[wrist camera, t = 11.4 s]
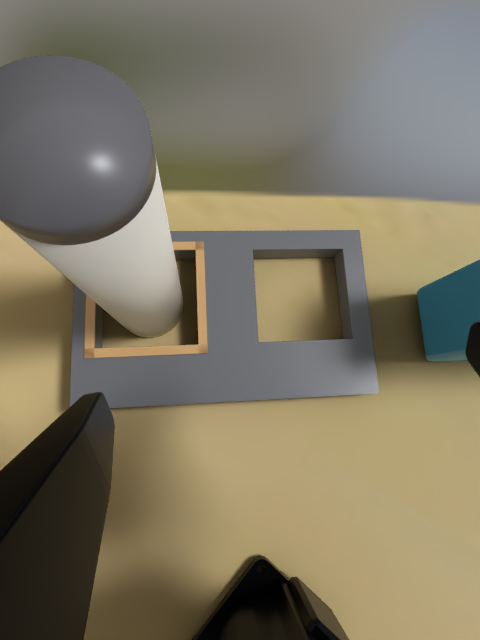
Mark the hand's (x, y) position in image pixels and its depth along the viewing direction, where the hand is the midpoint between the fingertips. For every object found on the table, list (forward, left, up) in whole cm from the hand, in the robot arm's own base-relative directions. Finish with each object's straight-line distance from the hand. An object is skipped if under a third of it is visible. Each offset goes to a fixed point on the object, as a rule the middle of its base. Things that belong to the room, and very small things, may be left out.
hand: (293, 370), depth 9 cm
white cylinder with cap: (0, +7, -13) cm, 15 cm away
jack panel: (+2, +3, -13) cm, 14 cm away
